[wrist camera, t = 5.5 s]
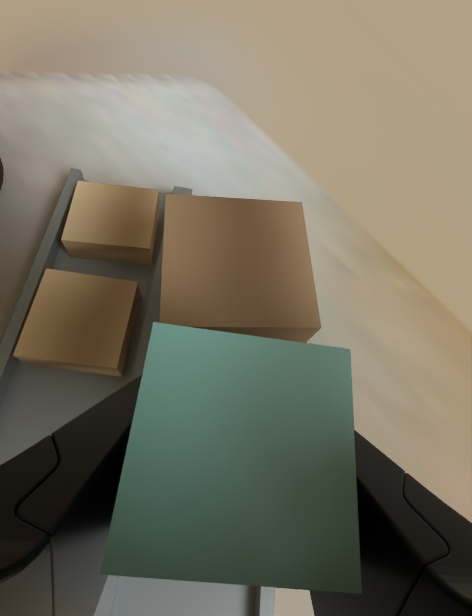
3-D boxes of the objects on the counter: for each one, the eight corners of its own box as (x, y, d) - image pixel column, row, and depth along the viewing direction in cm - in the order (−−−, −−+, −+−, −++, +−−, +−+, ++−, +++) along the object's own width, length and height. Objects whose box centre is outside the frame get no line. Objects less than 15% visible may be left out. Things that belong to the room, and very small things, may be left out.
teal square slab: (148, 494, 13) (64, 571, 4) (187, 272, 18) (192, 53, 8) (248, 503, 14) (391, 596, 4) (263, 284, 18) (352, 86, 9)
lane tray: (-73, 603, 12) (-113, 626, 10) (80, 192, 20) (71, 168, 18) (261, 625, 13) (272, 648, 12) (280, 225, 21) (288, 205, 19)
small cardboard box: (70, 257, 17) (61, 239, 16) (85, 201, 19) (77, 180, 17) (152, 264, 18) (149, 248, 16) (160, 209, 19) (158, 190, 18)
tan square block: (28, 365, 15) (13, 355, 13) (57, 284, 17) (46, 268, 15) (122, 376, 15) (116, 368, 14) (141, 296, 17) (137, 281, 16)
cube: (166, 368, 14) (158, 326, 10) (170, 266, 16) (165, 193, 12) (280, 367, 15) (321, 327, 10) (271, 269, 17) (301, 202, 12)
